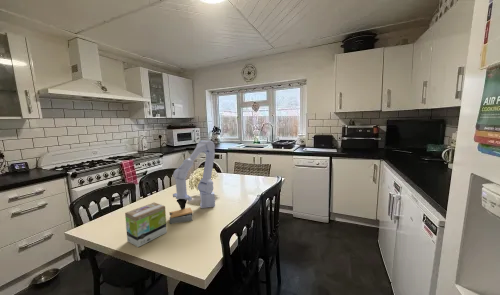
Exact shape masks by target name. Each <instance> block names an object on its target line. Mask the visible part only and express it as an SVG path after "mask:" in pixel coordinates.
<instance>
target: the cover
mask: <svg viewBox="0 0 500 295" xmlns="http://www.w3.org/2000/svg"><path fill="white" fill-rule="evenodd" d="M190 213H192V214H193V213H194V211H193V210H192V208H191V207H185V209H181V208H180V209H177V210H173V211H169V217H170V216H171V218H173V217H178V216H182V215H186V214H190Z"/></svg>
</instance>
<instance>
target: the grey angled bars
mask: <svg viewBox="0 0 500 295" xmlns="http://www.w3.org/2000/svg"><path fill="white" fill-rule="evenodd" d="M186 215H187V216H183V215H182V217H173V218H171V216H170V215H169V224H170V225H172V224H177V223H178V224H180V223H185V222H192V221H193V213H190V214H186Z"/></svg>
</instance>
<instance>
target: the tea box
mask: <svg viewBox="0 0 500 295" xmlns="http://www.w3.org/2000/svg"><path fill="white" fill-rule="evenodd" d="M124 214H125V215H124V216H125V217H124V218H125V229H126V240H127V242H128V243H130V244H132V245H134V246H135V247H137V248H139V247H141V246H144V245H146V244H147V243H149V242H151V241H153V240H155V239H156V238H158V237H161V236H163V235H165V234H167V217H166V216H167V215H166V214H167V213H166V206H165V205H162V204H160V203H157V202H151V203H148V204H146V205H143V206H141V207H137V208H135V209H132V210H129V211H126V212H125V213H124Z"/></svg>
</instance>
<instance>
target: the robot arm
mask: <svg viewBox="0 0 500 295" xmlns="http://www.w3.org/2000/svg"><path fill="white" fill-rule="evenodd" d="M215 147H216V144H215V142H214V141H212V140H204V139H203V140H202V139H201V140H199V141H198V143H196V147H195V148H194V150H193V151H192V153H191V154H190V156H189V157H187V158H185V159H184V160H183V161H182V163H181V164H180V166H178V168H176V169H175V170H173V174H172V176H173V177H174V180H175V190H176V192H175V193H173V194H172V198H175V199H176V203H177V204H178V205H179V208H180V210H181V209H186V204H187V202H192V201H193V197H192V196H190V195H189V194H188V192H187V179H186V178H188V173H189V171H190V170H191V168H192V167H193V166H194V161H195V160H196V159H197V158H198V156H199V155H200V154H201V153H204V154H205V161H204V168H203V173H202V178H201V179H200V180H199V183H198V185H197V190H198V191H199V195H200V204H199V205H200V209H205V208H214V207H216V199H215V198H216V196H215V191H214V182H213V180H212V174H213V168H214V161H215V156H216V151H215Z"/></svg>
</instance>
